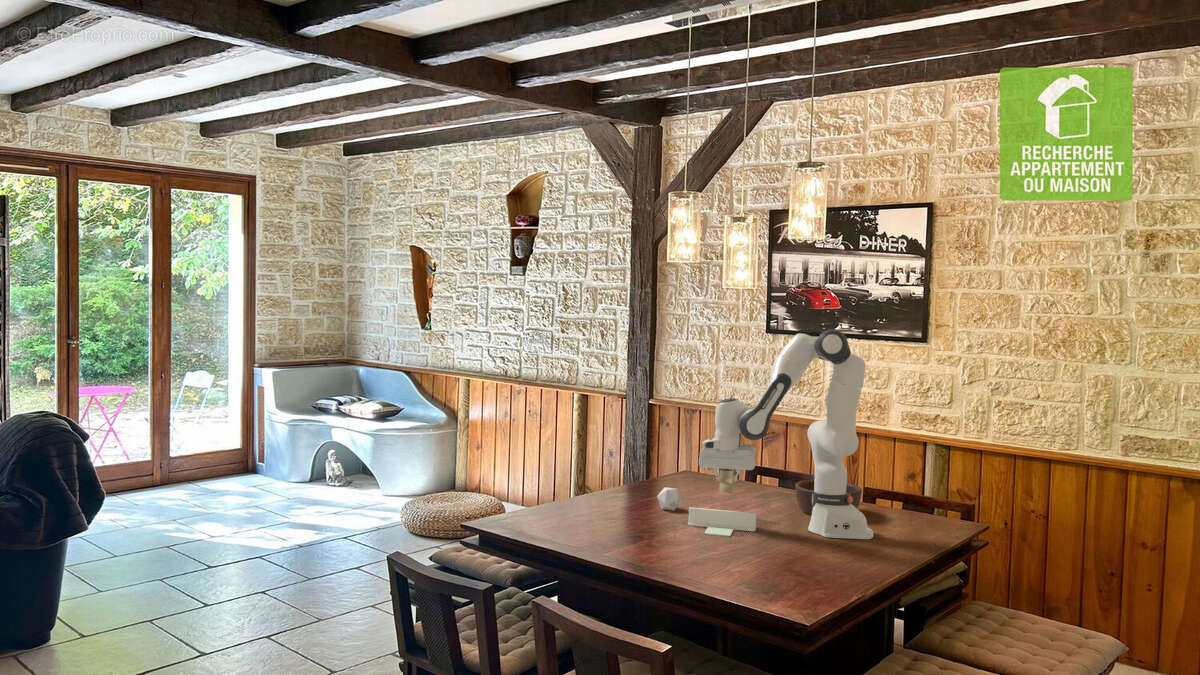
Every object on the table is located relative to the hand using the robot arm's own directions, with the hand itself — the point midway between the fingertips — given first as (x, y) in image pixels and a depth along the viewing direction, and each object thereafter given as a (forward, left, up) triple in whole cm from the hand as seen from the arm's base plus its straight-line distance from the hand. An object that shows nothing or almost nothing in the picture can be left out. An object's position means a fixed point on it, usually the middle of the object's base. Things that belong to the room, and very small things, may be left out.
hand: (726, 480), depth 330 cm
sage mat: (0, +14, -16) cm, 21 cm away
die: (+23, -13, -16) cm, 31 cm away
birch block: (0, 0, -4) cm, 4 cm away
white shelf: (0, +7, -16) cm, 17 cm away
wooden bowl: (-36, -31, -16) cm, 50 cm away
